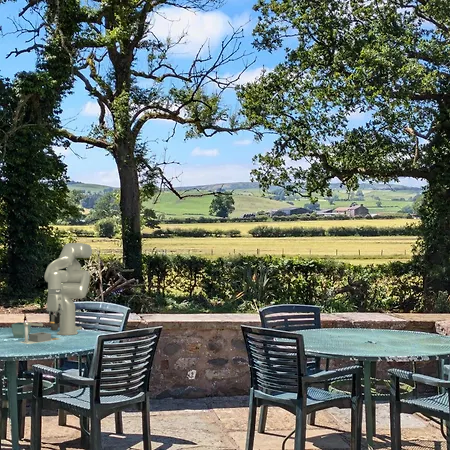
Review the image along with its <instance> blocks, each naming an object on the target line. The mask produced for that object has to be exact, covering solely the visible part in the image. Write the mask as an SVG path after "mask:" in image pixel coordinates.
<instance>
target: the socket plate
mask: <svg viewBox="0 0 450 450" xmlns="http://www.w3.org/2000/svg"><path fill="white" fill-rule="evenodd" d="M51 338H52V333H49V332H45V331H44V332H43V331H41V332H40V331H39V332H35V333H29V335H28V326H25V338H24V341H19V343H21V344H27V345H32V344H38V343H44V342H51V341H52V342H53V341H54V340H51Z"/></svg>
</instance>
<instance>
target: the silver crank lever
mask: <svg viewBox="0 0 450 450" xmlns="http://www.w3.org/2000/svg"><path fill="white" fill-rule="evenodd" d="M23 323H24V326H28V325H31V327H32V326H35V327H43V326H44V324H43V322H39V323H37V322H36V323H34V322H29V321H28V322H27V321H26V322H24V321H23Z"/></svg>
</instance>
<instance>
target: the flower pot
mask: <svg viewBox="0 0 450 450" xmlns="http://www.w3.org/2000/svg"><path fill="white" fill-rule="evenodd" d="M31 329H32V325H28V336H29V334H31ZM11 331H12V334H13V336H14V338H15V339H25V326H24V322H21V321H20V322H19V321H18V322H15V323H11Z"/></svg>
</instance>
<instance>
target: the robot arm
mask: <svg viewBox="0 0 450 450" xmlns="http://www.w3.org/2000/svg"><path fill="white" fill-rule="evenodd" d="M92 248H93V247H92V246H91V245H90V244H88V243H83V242H69V243H65V244H64V245H63V247H62V250H61V252H60V255H59V256H58V258H56V259H55V260H53V261H51V262H50V263H49V264H48V265H47V267H46V270H45V273H44V281H45V282H46V283H47V299H46V302H47V303H46V312H47V314H48V317H49V320H48V321H49V324H51V323H50V322H51V315H52V314H55V316H56V317H55V324H58V325H59V331H57V332H56V335H58V336H72V335H77V334H78V330H79V331H81V330H82V328H83V327H82V326H81V325H80V326H77V325H76V304H75V302H74V301H73V299H80V300H81V299H85V297H86V296H87V293H88V290H89V289H88V288H89V285H90V279H91V276H90V272H89V271H88V270H86V269H81V268H82V264H81V263H80V262H79V261H78V259H77V258H79V259H80V258H81V259H82V258H83V259H84V258H85V259H86V258H87V259H88V258H90V257H91V256H92V254H93V249H92ZM64 269H65V270H64Z"/></svg>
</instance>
